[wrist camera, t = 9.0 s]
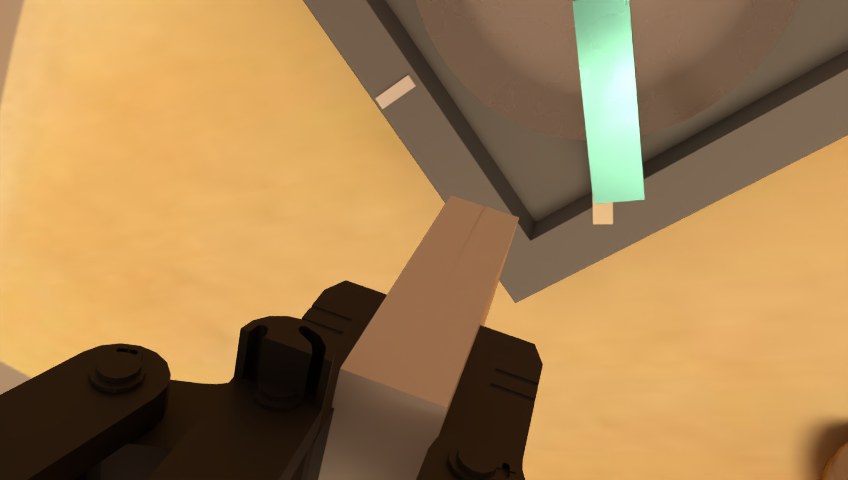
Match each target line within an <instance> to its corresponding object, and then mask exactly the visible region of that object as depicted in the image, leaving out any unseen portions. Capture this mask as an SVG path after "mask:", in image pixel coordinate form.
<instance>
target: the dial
mask: <svg viewBox="0 0 848 480" xmlns="http://www.w3.org/2000/svg"><path fill="white" fill-rule="evenodd" d="M799 2H800V0H416V3H417V7H418V9H419V12H420V15H421V18H422V20H423V23H424V26H425V28H426V31H427V33H428V34H429V36H430V38H431V40H432V42H433V44H434V46H435V48H436V50H437V52H438V53H439V55H440V56H441V57H442V59H443V60H444V62H445V63H446V65H447V66H448V68H449V69H450V70H451V72H452V73H453V74H454V75H455V76H456V77H457V78H458V80H459V81H460V82H461V83H462V84H463V85H464V86H465V87H466V88H467V89H468V90H469V91H470V92H471V93H472V94H474V95H475V96H476V97H477V98H478V99H479V100H480V101H482V102H483V103H484V104H485V105H487V106H488V107H490V108H491V109H493V110H494V111H496V112H497V113H499V114H500V115H502V116H503V117H506V118H508V119H510V120H512V121H514V122H516V123H518V124H520V125H522V126H524V127H527V128H529V129H532V130H535V131H538V132H541V133H544V134H547V135H552V136H557V137H562V138H567V139H575V140H587V145H588V154H589V164H590V173H591V183H592V192H593V202H594V204H598V203H610V202H622V201H634V200H645V193H644V171H643V158H642V145H641V136H642V135H646V134H649V133H652V132H656V131H659V130H662V129H666V128H668V127H671V126H673V125H675V124H677V123H680V122H682V121H684V120H687V119H689V118H691V117H693V116H694V115H696V114H698V113H700V112H701V111H703V110H705V109H707V108H708V107H710V106H712V105H713V104H715V103H716V102H717V101H719V100H720V99H721V98H723V97H724V96H725V95H727V94H728V93H729V92H731V91H732V90H733V89H735V88H736V87H737V86H738V85H739V84H740V83H741V82H742V81H743V80H744V79H745V78H746V77H747V76H748V75H749V74H751V73H752V72H753V71H754V70H755V69H756V67H757V66H758V65H759V64H760V63H761V61H762V60H763V59H764V58H765V57H766V55H767V54H768V53H769V52H770V51H771V49H772V48H773V47H774V45H775V44H776V42H777V41H778V39H779V38H780V36H781V35H782V33H783V32H784V30H785V28H786V27H787V25H788V24H789V22H790V20H791V18H792V16H793V14H794V12H795V10H796V8H797V6H798V4H799Z"/></svg>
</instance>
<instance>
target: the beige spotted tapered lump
mask: <svg viewBox="0 0 848 480" xmlns="http://www.w3.org/2000/svg"><path fill="white" fill-rule="evenodd" d="M820 480H848V442H847V443H845V444H844V445H842V446H841V447H840V448H839V449H838V450H837V451H836V452H835V453H834V454H833V455H832V457H831V458H830V459H829V461H828V462H827V464H826V466H825V468H824V471H823V473H822V476H821V479H820Z"/></svg>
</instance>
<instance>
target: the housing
mask: <svg viewBox="0 0 848 480" xmlns="http://www.w3.org/2000/svg"><path fill="white" fill-rule="evenodd" d="M303 1H304V3H305V4H306V5H307V7H308V8H309V10H310V11H311V12H312V14H313V15H314V17H315V18H316V20H317V21H318V22H319V24H320V25H321V27H322V28H323V30H324V31H325V32H326V34H327V35H328V37H329V38H330V40H331V41H332V42H333V44H334V45H335V47H336V48H337V50H338V51H339V52H340V54H341V55H342V57H343V58H344V60H345V61H346V62H347V64H348V65H349V67H350V68H351V70H352V71H353V72H354V74H355V75H356V77H357V78H358V79H359V81H360V82H361V84H362V85H363V87H364V88H365V89H366V91H367V92H368V94H369V95H370V97H371V98H372V99H373V101H374V102H375V104H376V105H377V107H378V108H379V109H380V111H381V112H382V114H383V115H384V117H385V118H386V119H387V121H388V122H389V124H390V125H391V127H392V128H393V129H394V131H395V132H396V134H397V135H398V136H399V138H400V139H401V141H402V142H403V144H404V145H405V146H406V148H407V149H408V151H409V152H410V154H411V155H412V156H413V158H414V159H415V161H416V162H417V164H418V165H419V166H420V168H421V169H422V171H423V172H424V174H425V175H426V176H427V178H428V179H429V181H430V182H431V184H432V185H433V186H434V188H435V189H436V191H437V192H438V193H439V195H440V196H441V198H442V199H443V201H444V202H445V203H446V202H447V201H448V199H449V197H450V196H451V195H452V196H455V197H458V198H461V199H464V200H467V201H470V202H473V203H476V204H479V205H483V206H486V207H489V208H492V209H495V210H498V211H501V212H504V213H507V214H510V215H513V216H516V217H519V220H518V223H517V226H516V230H515V233H514V236H513V239H512V242H511V245H510V248H509V251H508V254H507V257H506V260H505V263H504V266H503V269H502V272H501V275H500V278H499V280H500V282H501V283H502V285H503V286H504V288H505V289H506V290H507V292H508V293H509V295H510V296H511V298H512V299H513V300H514V302H515V303H517V302H519V301H521V300H523V299H525V298H527V297H528V296H530V295H532V294H534V293H536V292H538V291H540V290H542V289H544V288H546V287H548V286H550V285H552V284H554V283H556V282H558V281H560V280H562V279H564V278H566V277H568V276H570V275H572V274H574V273H576V272H578V271H580V270H582V269H584V268H586V267H588V266H590V265H592V264H594V263H596V262H598V261H600V260H602V259H604V258H606V257H608V256H610V255H612V254H614V253H615V252H617V251H619V250H621V249H623V248H625V247H627V246H629V245H631V244H633V243H635V242H637V241H639V240H641V239H643V238H645V237H647V236H649V235H651V234H653V233H655V232H657V231H659V230H661V229H663V228H665V227H667V226H669V225H671V224H673V223H675V222H677V221H679V220H681V219H683V218H685V217H687V216H689V215H691V214H693V213H695V212H697V211H699V210H700V209H702V208H704V207H706V206H708V205H710V204H712V203H714V202H716V201H718V200H720V199H722V198H724V197H726V196H728V195H730V194H732V193H734V192H736V191H738V190H740V189H742V188H744V187H746V186H748V185H750V184H752V183H754V182H756V181H758V180H760V179H762V178H764V177H766V176H768V175H770V174H772V173H774V172H776V171H778V170H780V169H782V168H784V167H786V166H787V165H789V164H791V163H793V162H795V161H797V160H799V159H801V158H803V157H805V156H807V155H809V154H811V153H813V152H815V151H817V150H819V149H821V148H823V147H825V146H827V145H829V144H831V143H833V142H835V141H837V140H839V139H841V138H843V137H845V136H847V135H848V0H800V2H799V4H798V6H797V8H796V10H795V12H794V14H793V16H792V18H791V20H790V22H789V24H788V25H787V27H786V28H785V30H784V32H783V33H782V35H781V36H780V38H779V39H778V41H777V42H776V44H775V45H774V47H773V48H772V49H771V51H770V52H769V53H768V54H767V55H766V57H765V58H764V59H763V60H762V61H761V63H760V64H759V65H758V66H757V67H756V69H755V70H754V71H753V72H752V73H751V74H749V75H748V76H747V77H746V78H745V79H744V80H743V81H742V82H741V83H740V84H739V85H738V86H737V87H736V88H735V89H733V90H732V91H731V92H729V93H728V94H727V95H725V96H724V97H723V98H721V99H720V100H719V101H717V102H716V103H715V104H713V105H712V106H710V107H708V108H707V109H705V110H703V111H701V112H700V113H698V114H696V115H694V116H693V117H691V118H689V119H687V120H684V121H682V122H680V123H677V124H675V125H673V126H671V127H668V128H666V129H662V130H659V131H656V132H652V133H649V134H646V135H642V136H641V145H642V158H643V171H644V193H645V200H634V201H622V202H610V203H598V204H594V202H593V192H592V183H591V173H590V164H589V154H588V145H587V140H575V139H567V138H562V137H557V136H552V135H547V134H544V133H541V132H538V131H535V130H532V129H529V128H527V127H524V126H522V125H520V124H518V123H516V122H514V121H512V120H510V119H508V118H506V117H503V116H502V115H500V114H499V113H497V112H496V111H494V110H493V109H491V108H490V107H488V106H487V105H485V104H484V103H483V102H482V101H480V100H479V99H478V98H477V97H476V96H475V95H474V94H472V93H471V92H470V91H469V90H468V89H467V88H466V87H465V86H464V85H463V84H462V83H461V82H460V81H459V80H458V78H457V77H456V76H455V75H454V74H453V73H452V72H451V70H450V69H449V68H448V66H447V65H446V63H445V62H444V60H443V59H442V57H441V56H440V55H439V53H438V52H437V50H436V48H435V46H434V44H433V42H432V40H431V38H430V36H429V34H428V33H427V31H426V28H425V26H424V23H423V20H422V18H421V15H420V12H419V9H418V7H417V3H416V0H303Z"/></svg>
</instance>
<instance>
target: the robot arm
mask: <svg viewBox="0 0 848 480" xmlns="http://www.w3.org/2000/svg"><path fill="white" fill-rule="evenodd" d="M518 220H519V217H516V216H513V215H510V214H507V213H504V212H501V211H498V210H495V209H492V208H489V207H486V206H483V205H479V204H476V203H473V202H470V201H467V200H464V199H461V198H458V197H455V196H452V195H451V196H450V197H449V199H448V201H447V202H446V204H445V205H444V207H443V208H442V210H441V211H440V213H439V215H438V216H437V218H436V219H435V221H434V222H433V224H432V226H431V227H430V229H429V230H428V232H427V233H426V235H425V237H424V238H423V240H422V241H421V243H420V244H419V246H418V247H417V249H416V251H415V252H414V254H413V255H412V257H411V258H410V260H409V262H408V263H407V265H406V266H405V268H404V269H403V271H402V273H401V274H400V276H399V277H398V279H397V280H396V282H395V283H394V285H393V287H392V288H391V290H390V291H389V293H388V294H387V295H386V294H383V293H381V292H378V291H375V290H372V289H369V288H366V287H363V286H360V285H358V284H355V283H352V282H349V281H343V282H341V283H339V284H337V285H334V286H332V287H330V288H328V289H325V290H324V291H323V292H322V294H321V295H320V296H319V297H318V299H317V300H316V301H315V302H314V304H313V305H312V307H311V308H309V310H308V311H307V312H306V313H305V315H304V316H303V317H302V319H298V318H293V317H289V316H268V317H264V318H260V319H257V320H253V321H251V322H250V323H248V324H247V325H245V326H244V327H242V328H241V330H240V337H239V344H238V351H237V358H236V365H235V372H234V377H233V378H232V380H231V381H230V382H229V383H224V384H201V383H193V382H185V381H176V380H170V376H171V374H170V371H169V367H168V364H167V362H166V361H165V360H164V359H163V358H162V357H161V356H159V355H158V354H157V353H156V352H154V351H151V350H149V349H146V348H144V347H142V346H137V345H129V344H111V345H101V346H98V347H95V348H93V349H90V350H87V351H84V352H82V353H80V354H78V355H76V356H74V357H72V358H70V359H68V360H66V361H65V362H63V363H61V364H59V365H57V366H55V367H53V368H51V369H49V370H47V371H45V372H43V373H42V374H40V375H38V376H36V377H34V378H32V379H30V380H28V381H26V382H24V383H22V384H20V385H18V386H17V387H15V388H13V389H11V390H9V391H7V392H5V393H3V394H1V395H0V480H525V478H524V474H523V470H522V463H523V455H524V451H525V446H526V441H527V436H528V432H529V427H530V422H531V417H532V413H533V408H534V401H535V398H536V394H537V389H538V384H539V379H540V375H541V370H542V365H543V364H542V362H541V359H540V357H539V354H538V351H537V349H536V346H535V344H533V343H530V342H527V341H524V340H521V339H519V338H516V337H513V336H510V335H507V334H504V333H501V332H498V331H496V330H493V329H490V328H487V327H484V324H485V321H486V318H487V315H488V312H489V309H490V306H491V303H492V300H493V297H494V294H495V291H496V288H497V285H498V282H499V278H500V275H501V272H502V269H503V266H504V263H505V260H506V257H507V254H508V251H509V248H510V245H511V242H512V239H513V236H514V233H515V230H516V226H517V223H518Z"/></svg>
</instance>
